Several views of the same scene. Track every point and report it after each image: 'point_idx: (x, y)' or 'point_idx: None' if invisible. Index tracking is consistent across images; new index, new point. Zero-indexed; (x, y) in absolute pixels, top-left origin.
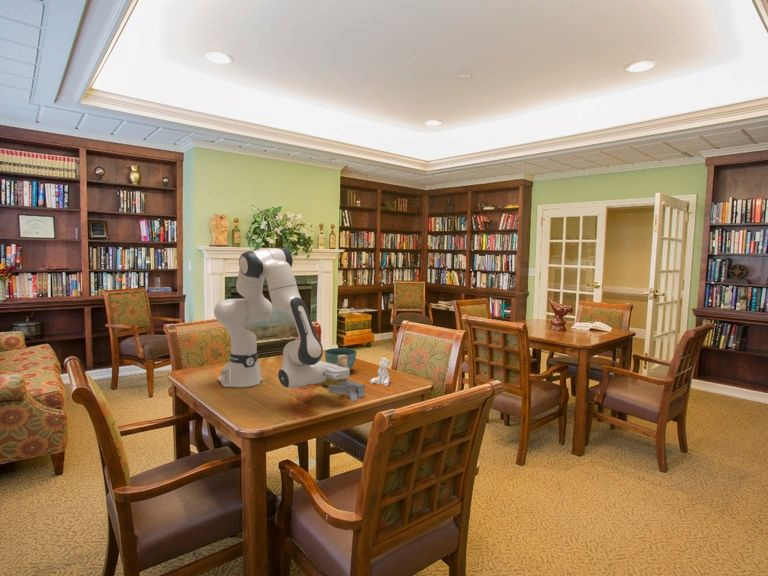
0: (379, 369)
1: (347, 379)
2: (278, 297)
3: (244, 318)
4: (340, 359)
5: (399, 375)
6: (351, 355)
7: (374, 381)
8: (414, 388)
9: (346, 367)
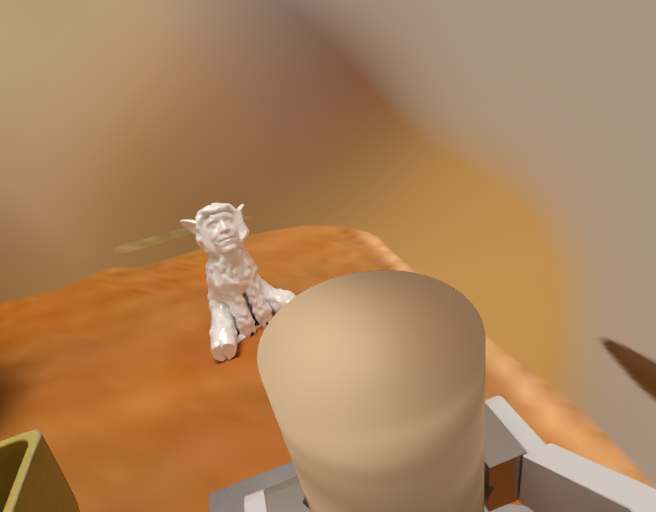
0: (222, 270)
1: (245, 485)
2: None
3: None
4: (466, 437)
5: (198, 261)
6: None
7: (236, 337)
8: (371, 251)
9: (538, 440)
